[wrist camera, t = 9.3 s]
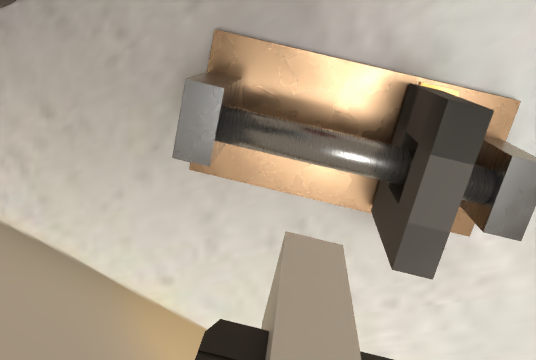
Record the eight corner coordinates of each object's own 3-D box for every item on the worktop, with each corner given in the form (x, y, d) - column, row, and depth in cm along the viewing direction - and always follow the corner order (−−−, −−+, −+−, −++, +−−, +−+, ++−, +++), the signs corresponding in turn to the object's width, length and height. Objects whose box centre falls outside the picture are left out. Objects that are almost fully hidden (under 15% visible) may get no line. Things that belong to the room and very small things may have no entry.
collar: (370, 210, 37) (391, 269, 28) (410, 83, 34) (448, 99, 25) (401, 217, 37) (432, 279, 28) (442, 90, 34) (494, 110, 25)
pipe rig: (192, 166, 40) (160, 200, 31) (217, 29, 36) (189, 26, 28) (465, 231, 39) (508, 284, 31) (515, 99, 36) (577, 117, 28)
